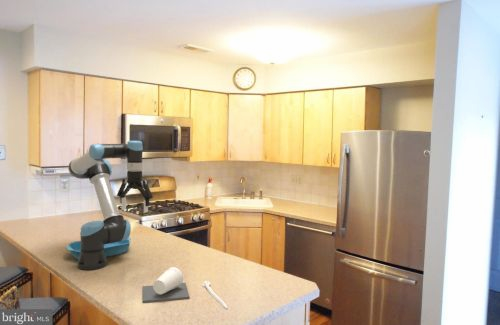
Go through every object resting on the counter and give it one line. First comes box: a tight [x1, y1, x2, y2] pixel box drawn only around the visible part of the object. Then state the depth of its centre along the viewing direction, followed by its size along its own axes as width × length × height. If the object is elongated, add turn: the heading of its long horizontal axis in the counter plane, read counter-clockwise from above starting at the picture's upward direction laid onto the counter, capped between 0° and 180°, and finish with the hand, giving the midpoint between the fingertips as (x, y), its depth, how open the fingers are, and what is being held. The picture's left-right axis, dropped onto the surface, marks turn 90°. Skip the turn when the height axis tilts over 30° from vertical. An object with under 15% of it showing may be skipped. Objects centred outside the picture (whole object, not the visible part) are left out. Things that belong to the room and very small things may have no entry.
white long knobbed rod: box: [201, 280, 228, 310], centre depth 175 cm, size 28×4×3 cm, turn 28°
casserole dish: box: [65, 237, 131, 260], centre depth 229 cm, size 37×22×7 cm, turn 131°
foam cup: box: [152, 266, 184, 294], centre depth 175 cm, size 10×9×13 cm
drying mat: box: [142, 282, 190, 304], centre depth 176 cm, size 20×16×1 cm
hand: (134, 211), depth 201 cm, fingers open, 13 cm apart
